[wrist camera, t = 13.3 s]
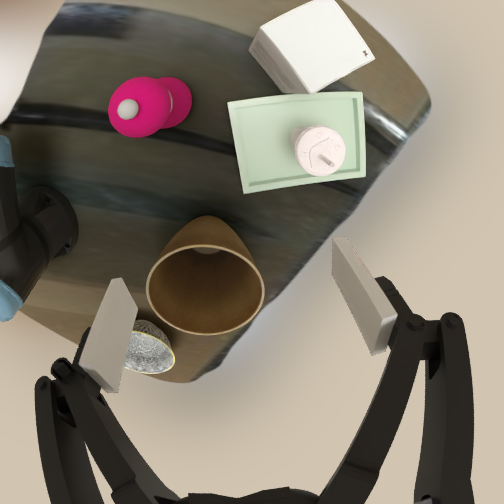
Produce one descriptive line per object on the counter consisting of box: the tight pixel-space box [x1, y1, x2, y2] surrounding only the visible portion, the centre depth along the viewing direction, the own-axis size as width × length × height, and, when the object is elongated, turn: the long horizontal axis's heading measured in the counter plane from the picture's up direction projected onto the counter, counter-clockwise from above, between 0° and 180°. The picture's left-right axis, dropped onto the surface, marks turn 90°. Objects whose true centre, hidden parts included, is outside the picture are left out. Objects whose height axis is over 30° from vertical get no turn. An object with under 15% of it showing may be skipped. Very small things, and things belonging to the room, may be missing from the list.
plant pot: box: [146, 215, 265, 335], centre depth 40 cm, size 15×15×16 cm
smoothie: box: [289, 125, 346, 176], centre depth 32 cm, size 6×6×14 cm
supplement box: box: [248, 0, 375, 95], centre depth 26 cm, size 9×9×15 cm
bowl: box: [123, 320, 175, 374], centre depth 55 cm, size 16×16×8 cm
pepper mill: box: [108, 77, 192, 138], centre depth 26 cm, size 7×7×20 cm
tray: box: [227, 91, 366, 194], centre depth 38 cm, size 20×14×2 cm
